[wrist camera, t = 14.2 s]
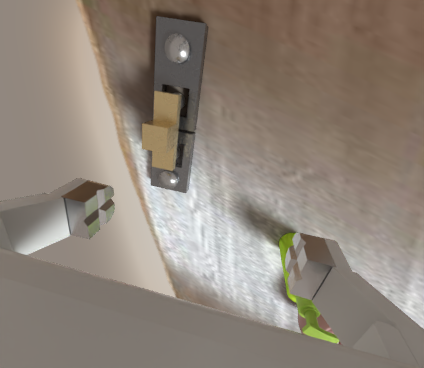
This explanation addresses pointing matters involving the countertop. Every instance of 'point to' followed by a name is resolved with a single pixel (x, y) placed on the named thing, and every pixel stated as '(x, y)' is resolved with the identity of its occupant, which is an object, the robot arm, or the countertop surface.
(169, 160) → the tan bridge piece
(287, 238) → the soap dispenser
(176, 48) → the plate
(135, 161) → the countertop surface
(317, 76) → the countertop surface
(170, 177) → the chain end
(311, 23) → the countertop surface
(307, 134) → the countertop surface
